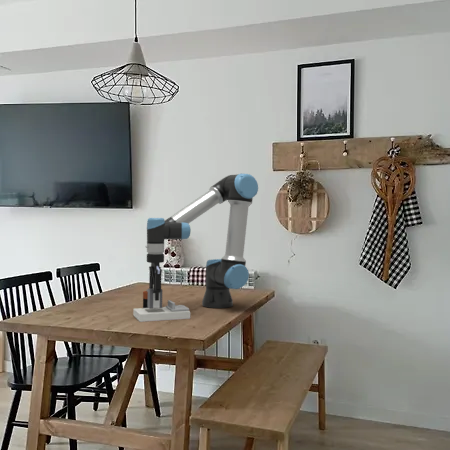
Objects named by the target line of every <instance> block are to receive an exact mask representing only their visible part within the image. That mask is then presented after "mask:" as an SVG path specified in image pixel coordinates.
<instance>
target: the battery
mask: <svg viewBox="0 0 450 450" xmlns="http://www.w3.org/2000/svg"><path fill="white" fill-rule="evenodd" d="M142 308H148V289H146V290H144V291H142Z"/></svg>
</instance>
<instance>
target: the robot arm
mask: <svg viewBox="0 0 450 450" xmlns="http://www.w3.org/2000/svg"><path fill="white" fill-rule="evenodd" d="M258 192H259V183H258V181H257V180H256V178H255V177H254V176H253V175H252V174H250V173H249V174H248V173H238V174H237V173H236V174H229V175H227V176H225V177H223V178H222V179H220V180H219V181H217V182H215V183H214V184H213V185H212V186H210V187H209V189H208V191H206V192H205V193H203V194H202V195H200V196H199V197H198V198H196V199H195V200H193V201H192V202H190V203H189V204H187V205H185V206H184V207H182V208H181V209H180V210H178V211H177V212H176V213H174V214H172V215H171V216H170V217H168V218H167V219H165V218H164V217H149V218H148V219H147V220H146V221H147V222H146V245H145V248H146V253H147V254H146V262H147V263H149V264H150V266H149V267H148V270H149V271H148V272H149V274H148V275H149V277H148V278H149V279H148V281H149V285H148V287H149V288H148V289H152V288H153V284H154V292H152V293H153V308H160V292H161V289H162V271H163V269H162V268H161V265H160V264H161V263H164V262H165V254H164V253H165V240H187V239H189V237H190V236H191V226H190V223H191V222H193V221H194V220H196V219H198V218H199V217H201V216H202V215H203V214H205V213H207V212H208V211H209V210H210V209H212V208H213V207H215V206H216V205H218V204H219V205H220V204H223V203H224V202H227V203H228V204H230V206H229V215H228V216H229V218H228V223H227V224H228V225H227V226H228V227H227V234H226V235H227V236H226V243H225V244H226V245H225V251H224V252H225V254H224V256H222V257H221V258H215V259H207V261H206V264H205V292H204V295H203V299H202V301H201V302H202V303H201V306H202V307H205V308H210V309H225V308H231V307H233V306H234V305H233V304H234V302H233V297H232V295H231V291H230V289H231V290H232V289H233V290H238V289H241V288H243V287H244V286H245V285H246V284H247V283H248V281H249V276H250V273H249V270H248V267H247V266H246V263H247V261H246V259H245V258H244V254H245V253H244V252H245V244H246V242H245V241H246V234H247V224H248V216H249V207H250V206H251V205H252V204H253V199H254V197H255V196H256V195H257V194H258Z"/></svg>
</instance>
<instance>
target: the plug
mask: <svg viewBox="0 0 450 450" xmlns="http://www.w3.org/2000/svg"><path fill="white" fill-rule="evenodd" d="M147 290H148V308H149V309H153V293H152V292H154V284H153V288H152V289H150V288H147ZM162 307H163V289H162V288H161V292H160V308H162Z"/></svg>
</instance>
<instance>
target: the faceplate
mask: <svg viewBox="0 0 450 450" xmlns="http://www.w3.org/2000/svg"><path fill="white" fill-rule="evenodd" d="M132 314H133V317H134V318H135V319H136V320H137V321H138V322H139V323H142V322H143V323H144V322H156V321H157V322H159V321H173V320H176V321H177V320H188V319H189V320H190V319H191V311H190V310H183V311H171V310H169V309H168V308H166V306H162V308H153V309H149V308H143V307H142V308H141V307H140V308H139V307H138V308H133V312H132Z"/></svg>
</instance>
